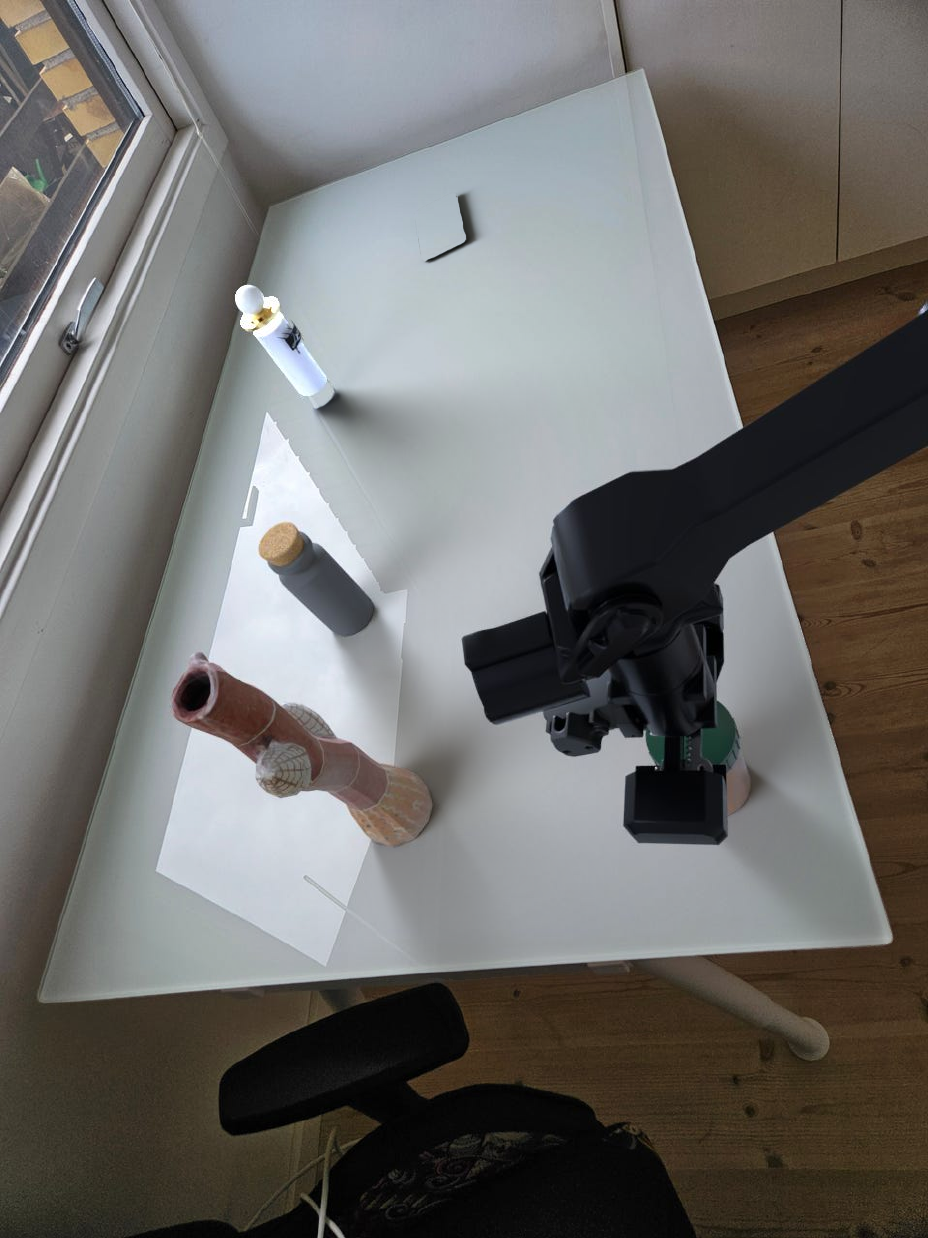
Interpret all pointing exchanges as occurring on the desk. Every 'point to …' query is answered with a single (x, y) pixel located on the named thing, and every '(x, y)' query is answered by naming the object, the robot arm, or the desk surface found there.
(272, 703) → the vase
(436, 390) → the desk surface
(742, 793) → the honey jar
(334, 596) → the bottle
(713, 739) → the jar lid
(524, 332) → the desk surface
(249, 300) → the perfume bottle
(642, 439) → the desk surface
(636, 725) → the robot arm
